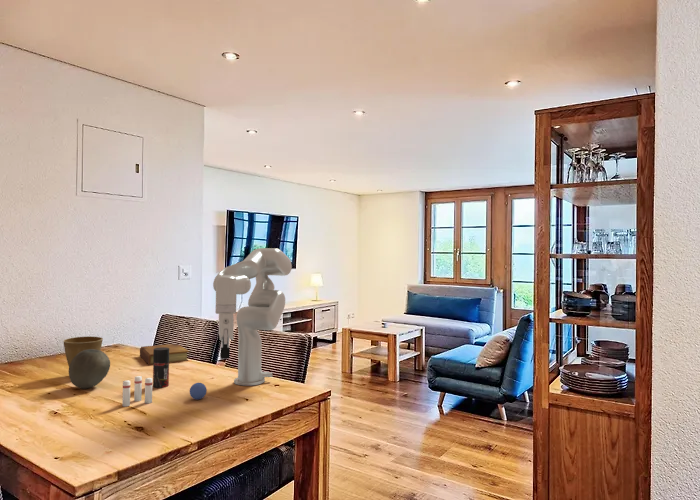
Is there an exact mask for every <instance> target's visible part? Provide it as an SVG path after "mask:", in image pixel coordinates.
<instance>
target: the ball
mask: <svg viewBox="0 0 700 500" xmlns="http://www.w3.org/2000/svg"><path fill="white" fill-rule="evenodd" d="M207 390H208V389H207V386H206V385H205V384H204V383H202V382H195V383H193V384H192V385H191V386H190V388H189V396H190V397H191V398H192V399H193V400H197V401H199V400H202V399H203V398H204V397H205V396H206V394H207Z"/></svg>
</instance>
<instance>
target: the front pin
mask: <svg viewBox="0 0 700 500" xmlns="http://www.w3.org/2000/svg"><path fill="white" fill-rule="evenodd" d="M144 379H145V380H144V404H151V403H153V377H147V378H146V377H145V378H144Z"/></svg>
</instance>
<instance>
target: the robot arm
mask: <svg viewBox="0 0 700 500" xmlns="http://www.w3.org/2000/svg"><path fill="white" fill-rule="evenodd" d="M292 267H293V266H292V261H291V259H290V258H289V257H288V256H287V255H286V253H285V252H283V251H282V250H280V249H279V248H275V247H274V248H272V247H271V248H270V247H269V248H268V247H265V248H264V247H263V248H262V247H259V248H255V249H253V250H252V251H251V252H250V253H249V254H248V255H247V256H246V257H245V258H244V259H243V260H242V261H239V262H236V263H234V264H231V265H228V266H226V267H224V268H223V269H221V271H220V272H218V273H217V274H216V276H215V277H214V279H213V283H212V286H213V287H212V288H213V290H214V292H215V314H217V315H218V335H219V340H220V341H221V344H220V345H221V346H220V359H221V360H228V359H230V353H231V352H230V348H231V347H230V340H231V341H233V340H234V325H235V324H234V314H236V315H235V316H236V317H235V319H236V324H237V325H236V326H237V331H238V333H237V335H238V347H237V348H238V349H237V353H238V354H237V358H238V362H237V377H236V378H234V379H233V384H235V385H237V386H238V385H239V386H242V387H243V386H244V387H245V386H257V385H262V384H264V383H265V381H266V378H272V377H273V372H272V371H271V372H269V371H263V370H262V343H263V342H262V337H261V334H260V333H259V331H272V330H275V329H276V328H277V325H278V324H279V322H280V320H281V318H282V314H283V312H284V310H285V306H286V296H285V293H284V292H283V291H281V290H279V289H278V290H277V289H275V284H274V282H273V280H272V279H271V278H270V277H269V276H278V277H279V276H281V277H283V276H284V277H285V276H288V275H289V274H291V271H292ZM254 278H255V286H254V288H253V289H252V291H251V293H250V296H249V297H248V301H247V305H248V306H247V305H246V306H243V307H240V308H239V309H237V295H245V294H247V293H248V292H249V291H250V289H251V287H252V282H251V279H254ZM237 310H238V311H237Z"/></svg>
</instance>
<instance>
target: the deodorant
mask: <svg viewBox="0 0 700 500" xmlns="http://www.w3.org/2000/svg"><path fill="white" fill-rule="evenodd" d="M152 366H153V367H152V369H153V370H152V374H153V375H152V388H154V389H161V388H163V389H164V388H167V387H169V385H170V383H169V381H170V380H169V379H170V363H169V348H166V347H161V348H155V349H154V352H153V365H152Z"/></svg>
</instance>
